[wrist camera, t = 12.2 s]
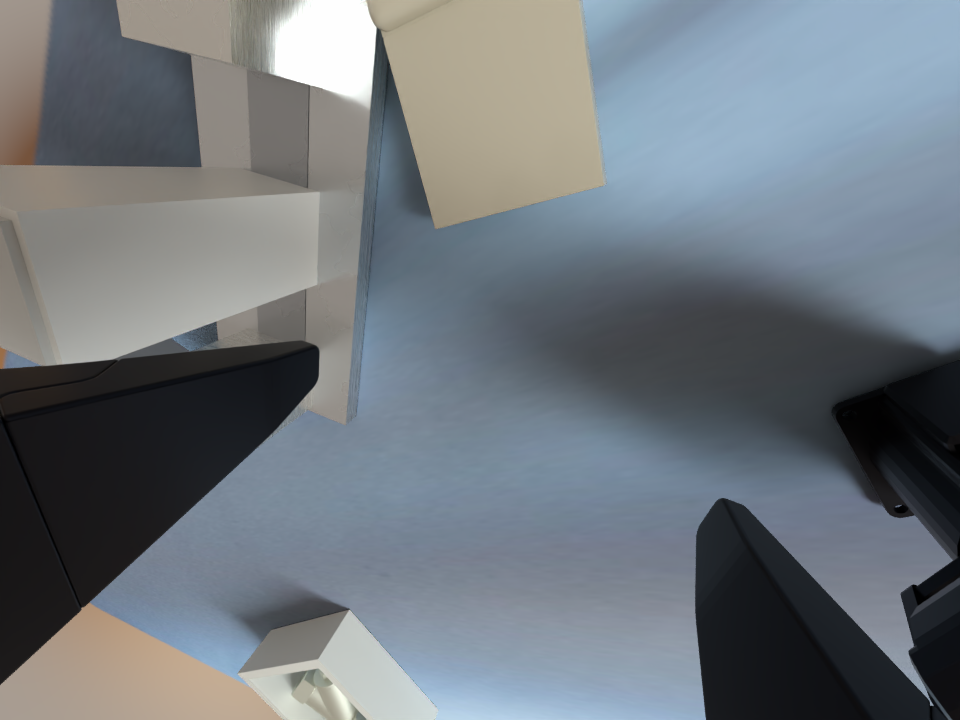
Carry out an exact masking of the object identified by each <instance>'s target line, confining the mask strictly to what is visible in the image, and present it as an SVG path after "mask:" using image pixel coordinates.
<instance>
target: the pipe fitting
mask: <svg viewBox="0 0 960 720" xmlns="http://www.w3.org/2000/svg"><path fill="white" fill-rule="evenodd" d="M291 695H292V697H293V698H295V699H296V700H297V701H299V702H300V703H301V704H304V703H305V704H307V705H308V706H309V707H310V708H312V709H313V710H314V711H316V712H317V713H318V714H320V715H321V716H322V717H324V718H325V719H326V720H367V719H366V718H365V717H364V716H363V715H362V714H361V713H360V712H359V711H358V710H357V709H356V708H355V707H354V705H353V704H352V703H351V702H350V701H349V700H348V699H347V698H346V697H345V696H344V695H343V694H342V693H341V692H340V691H339V689H338V688H337V687H336V686H335V685H334V684H333V683H332V682H331V681H330V680H329V679H328V678H327V677H326V676H325V675H324V673H323V672H322V671H321V670H320V669H313V670H306V671H305V672H304V674H303V675H302V677H301V678H300V680H299V681H298V683H297V685H296V686H295V688H294V690H293V691H292V693H291Z"/></svg>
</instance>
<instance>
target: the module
mask: <svg viewBox="0 0 960 720" xmlns="http://www.w3.org/2000/svg"><path fill="white" fill-rule="evenodd" d="M319 196H320V192H319V191H315V190H312V189H308V188H305V187H302V186H298V185H295V184H292V183H288V182H285V181H282V180H278V179H275V178H272V177H268V176H265V175H262V174H258V173H255V172H251V171H248V170H245V169H241V168H223V167H131V166H40V165H0V347H2V348H4V349H6V350H8V351H10V352H13V353H15V354H17V355H19V356H22V357H24V358H26V359H28V360H30V361H33V362H35V363H37V364H39V365H42V366H49V365H61V364H72V363H83V362H93V361H103V360H112V359H115V358H117V357H120V356H123V355H126V354H128V353H131V352H134V351H137V350H139V349H142V348H145V347H148V346H150V345H153V344H156V343H159V342H161V341H164V340H167V339H169V338H172V337H175V336H178V335H180V334H183V333H186V332H189V331H191V330H194V329H197V328H200V327H202V326H205V325H208V324H211V323H213V322H216V321H219V320H222V319H224V318H227V317H230V316H233V315H235V314H238V313H241V312H243V311H246V310H249V309H252V308H254V307H257V306H260V305H263V304H265V303H268V302H271V301H274V300H276V299H279V298H282V297H285V296H287V295H290V294H293V293H296V292H298V291H301V290H304V289H307V288H309V287H312V286H315V285H317V263H318V229H319Z"/></svg>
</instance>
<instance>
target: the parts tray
mask: <svg viewBox="0 0 960 720" xmlns="http://www.w3.org/2000/svg"><path fill="white" fill-rule="evenodd" d="M313 669H320V670H321V671H322V672H323V673H324V675H325V676H326V677H327V678H328V679H329V680H330V681H331V682H332V683H333V684H334V685H335V686H336V687H337V688H338V689H339V691H340V692H341V693H342V694H343V695H344V696H345V697H346V698H347V699H348V700H349V701H350V702H351V703H352V704H353V705H354V707H355V708H356V709H357V710H358V711H359V712H360V713H361V714H362V715H363V716H364V717H365V718H366V719H367V720H435V719H436V716H437V713H438V709H437V707H436V706H435V705H434V704H433V703H432V702H431V701H430V700H429V698H428V697H427V696H426V695H425V694H424V693H423V692H422V691H421V689H420V688H419V687H418V686H417V685H416V684H415V683H414V682H413V680H412V679H411V678H410V677H409V676H408V675H407V674H406V673H405V671H404V670H403V669H402V668H401V667H400V666H399V665H398V663H397V662H396V661H395V660H394V659H393V658H392V657H391V656H390V654H389V653H388V652H387V651H386V650H385V649H384V648H383V647H382V645H381V644H380V643H379V642H378V641H377V640H376V639H375V638H374V636H373V635H372V634H371V633H370V632H369V631H368V630H367V629H366V627H365V626H364V625H363V624H362V623H361V622H360V621H359V620H358V618H357V617H356V616H355V615H354V614H353V613H352V612H351V611H350V610H346V611H342V612H338V613H334V614H330V615H327V616H323V617H319V618H315V619H311V620H307V621H304V622H300V623H296V624H292V625H288V626H284V627H281V628H277V629H273V630H271V631H270V632H269V633H268V635H267V636H266V637H265V639H264V640H263V641H262V642H261V644H260V645H259V646H258V648H257V649H256V650H255V651H254V653H253V654H252V655H251V657H250V658H249V659H248V661H247V662H246V663H245V664H244V666H243V667H242V668H241V670H240V671H239V672H238V673H237V674H238V675H239V676H240V677H241V678H242V679H243V680H244V681H245V682H246V683H247V684H248V685H249V686H250V687H251V688H252V689H253V690H254V691H255V692H256V693H257V694H258V695H259V696H260V697H261V698H262V699H263V700H264V701H265V702H266V703H267V704H268V705H269V706H270V707H271V708H272V709H273V710H274V711H275V712H276V713H277V714H278V715H279V716H280V717H281V718H282V719H283V720H326V719H325V718H324V717H322V716H321V715H320V714H318V713H317V712H316V711H314V710H313V709H312V708H310V707H309V706H308V705H307V704H305V703H304V704H301V703H300V702H299V701H297V700H296V699H295V698H293V697H292V695H291V693H292V691H293V690H294V688H295V686H296V685H297V683H298V681H299V680H300V678H301V677H302V675H303V674H304V672H305V671H306V670H313Z"/></svg>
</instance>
